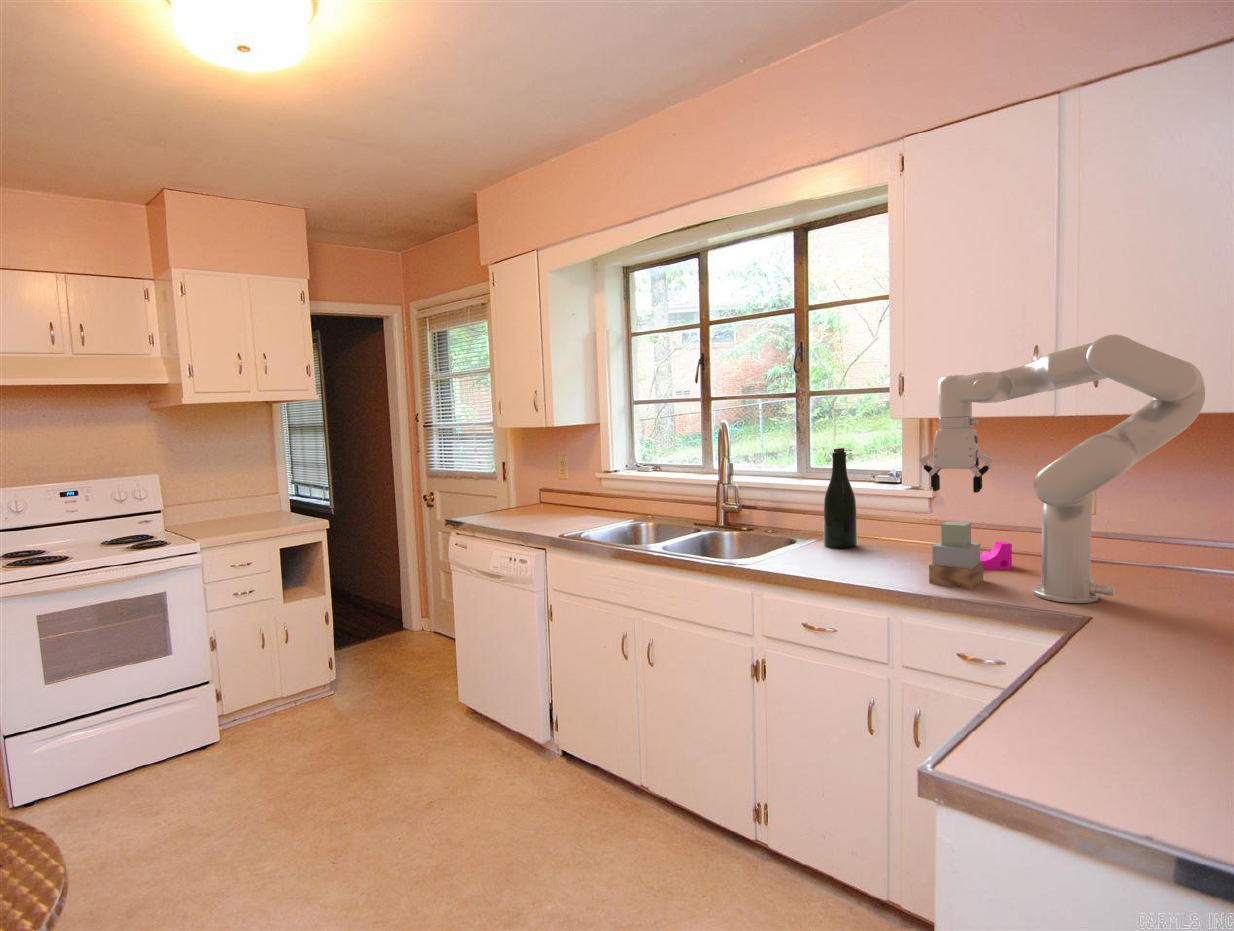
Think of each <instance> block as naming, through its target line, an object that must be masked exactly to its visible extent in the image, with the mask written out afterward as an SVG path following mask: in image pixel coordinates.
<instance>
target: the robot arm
mask: <svg viewBox="0 0 1234 931" xmlns="http://www.w3.org/2000/svg"><path fill="white" fill-rule="evenodd" d="M1105 379H1109V380H1113V381H1114V382H1117V383H1118V384H1121V385H1123V386H1126V387H1128V388H1130V389H1133V390H1135V391H1137V392H1139V393H1142V394H1144V395H1146V396H1149V397H1151V399H1150V401H1149V402H1148V403H1146V405H1144V406H1143V407H1141V408H1140V409H1138V410H1137V411H1135V412H1134V413H1132V414H1130V415H1129V416H1128V417H1127V418H1126V419H1124V420H1123V421H1121V422H1119V423H1118V424H1116V425H1115V426H1113V427H1112V428H1110V429H1108V430H1106V431H1104V432H1100V433H1096V434H1094V435H1093V436H1090V437H1088V438H1087V439H1085V440H1084V441H1082V442H1080V443H1079V444H1078V445H1076V446H1074V447H1073V448H1071V449H1070V450H1069V451H1067V452H1066V453H1065V454H1063V455H1061V456H1060V457H1058V458H1057V459H1056V460H1055V459H1054V461H1052V462H1051V463H1050V464H1048V465H1046V466H1045V467H1044V468H1042V469H1041V470H1039V471H1038V473H1037V474H1036V476H1035V477H1034V480H1033V487H1032V488H1033V492H1034V494H1035V496H1036V497H1037V499H1038V500H1039V501H1040V502H1042V512H1041V558H1040V559H1041V565H1040V566H1041V572H1040V573H1041V574H1040V575H1041V576H1040V577H1041V579H1040V581H1041V582H1040V583H1041V584H1040V585H1037V586H1035V587H1034V588H1033V594H1034V595H1035V596H1036V597H1038V598H1041V599H1044V600H1047V601H1053V602H1059V603H1065V604H1066V603H1067V604H1068V603H1069V604H1089V603H1090V604H1091V603H1095V602H1097V601H1098V600H1099V595H1104V596H1110V597H1111V596H1112V597H1114V594H1115V588H1114V586H1110V585H1107V584H1098V583H1097V582H1095V578H1094V577H1091V561H1092V560H1091V557H1092V556H1091V554H1092V552H1091V551H1092V550H1091V549H1092V516H1093V515H1092V514H1093V502H1094V500H1093V499H1094V492H1095V491H1097V490H1098V489H1100V488H1102V487H1103V486H1105V485H1106V484H1108V483H1110V482H1111V481H1113V480H1114V479H1116V478H1118V477H1120V476H1121V475H1123V474H1124V473H1126V472H1127V471H1129V470H1130V469H1131V468H1132V467H1134V465H1136V463H1138V462H1139V461H1141V460H1142V459H1144V458H1145V457H1147V456H1149V455H1150V454H1152V453H1153V452H1155V451H1156V450H1158V449H1160V448H1161V447H1163V446H1164V445H1165V444H1166V443H1169V441H1171V440H1173V439H1175V437H1177V436H1179V435H1180V434H1182V433H1183V432H1184V431H1185V430H1186V429H1188V428H1189V427H1190V426H1191V425H1192V424H1193V423H1194V422H1195V421H1196V420H1197V418H1198V416H1199V414H1201V412H1202V409H1203V406H1204V403H1205V400H1206V389H1205V388H1206V386H1205V381H1204V378H1203V374H1202V372H1201V371H1200V369H1199V368H1198V367H1197V366H1196V365H1195V364H1193V363H1191V362H1190V361H1186V360H1183V359H1181V358H1179V357H1176V356H1173V355H1170V354H1167V353H1165V352H1162V351H1160V350H1157V349H1156V348H1152V347H1149V346H1147V345H1144V344H1142V343H1140V342H1137V341H1135V340H1133V339H1132V338H1129V337H1127V336H1125V335H1122V334H1107V335H1104V336H1101V337H1100V338H1098V339H1096V340H1094V341H1093V342H1090V343H1085V344H1082V345H1079V346H1075V347H1071V348H1067V349H1063V350H1057V351H1055V352H1050V353H1048V354H1045V355H1044V356H1042V357H1040V358H1039V359H1037V360H1036V361H1033V362H1031V363H1027V364H1025V365H1021V366H1018V367H1014V368H1009V369H1005V370H1002V371H997V372H992V371H983V372H982V371H981V372H977V373H976V372H975V373H973V374H967V375H966V374H964V375H963V374H960V375H959V374H957V375H956V374H955V375H946V376H945V375H944V376H943V377H940V378H939V380H938V383H937V388H938V389H937V390H938V391H937V392H938V393H937V394H938V396H937V397H938V399H937V400H938V430H936V432H935V435H934V442H933V449H932V450H933V451H932V452H931V453H928V454H927V455H925V456H923V457H921V458H920V459H919V462H920V464H921V465H922V467H923V470H925V471H926V472H927V473H928V475H929V476H930V487H931V488H932V491H933V492H938V491H940V490H941V488H940V486H941V477H940V474H939V472H940V471H941V470H970V471H971V472H972V473H973V474H974V476H973V477H972V486H973V487H972V488H973V493H974V494H976V493H980V492H981V490H982V489H983V476H985V474H986V473H987V472H988V471H989V470H991V468H992V465H993V463H994V462H995V459H994V458H993V457H990V456H988V455H987V454H984V453H982V452H980V446H979V438H978V433H977V429H975V428H974V429H973V427H974V426H975V425H979V419H978V418H977V419H976V418H974V417H973V408H972V407H973V406H972V405H973V404H972V403H978V404H990V403H991V404H992V403H993V404H994V403H1000V402H1006V401H1010V400H1014V399H1018V398H1022V397H1023V398H1024V397H1028V396H1031V395H1032V396H1033V395H1036V394H1041V393H1044V392H1054V391H1057V390H1061V389H1062V390H1063V389H1066V388H1071V387H1074V386H1078V385H1082V384H1087V383H1091V382H1095V381H1101V380H1105ZM930 460H932V464H933V467H932V466H931V465H930V464H929V461H930ZM981 461H984V462H985V463H984V465H983V466H982V467H981V468H980V466H981V465H980V464H981Z"/></svg>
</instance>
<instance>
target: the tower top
mask: <svg viewBox="0 0 1234 931" xmlns="http://www.w3.org/2000/svg"><path fill="white" fill-rule="evenodd" d="M980 554H981V543H980V542H971V544H970V545H968V546H967V547H965V548H964V547H954V546H943V545H941V540H940V541H938V542H936V543H935V544H933V545H932V563H933V565H937V566H946V567H955V568H964V569H972V568H973V567H975V566H976V565H977V564H979V563H980Z"/></svg>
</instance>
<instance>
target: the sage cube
mask: <svg viewBox="0 0 1234 931" xmlns="http://www.w3.org/2000/svg"><path fill="white" fill-rule="evenodd" d="M940 528H941V529H940V530H941V537H940V538H941V539H940V541H941V545H943V546H954V547H964V548H965V547H967V546H968V545H970V544H971V543H972V522H967V521H966V522H965V521H953V520H952V521H951V520H950V521H949V520H948V521H945V522H943V523H941V527H940Z"/></svg>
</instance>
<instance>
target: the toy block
mask: <svg viewBox="0 0 1234 931" xmlns="http://www.w3.org/2000/svg"><path fill="white" fill-rule="evenodd" d="M980 562H982V563H983V569H988V570H1012V569H1013V567H1012V566H1013V544H1012V543H1010V542H1008V541H995V542H994V546H993V547H992V549H991V550H985V551H983V552H982V553H980Z"/></svg>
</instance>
